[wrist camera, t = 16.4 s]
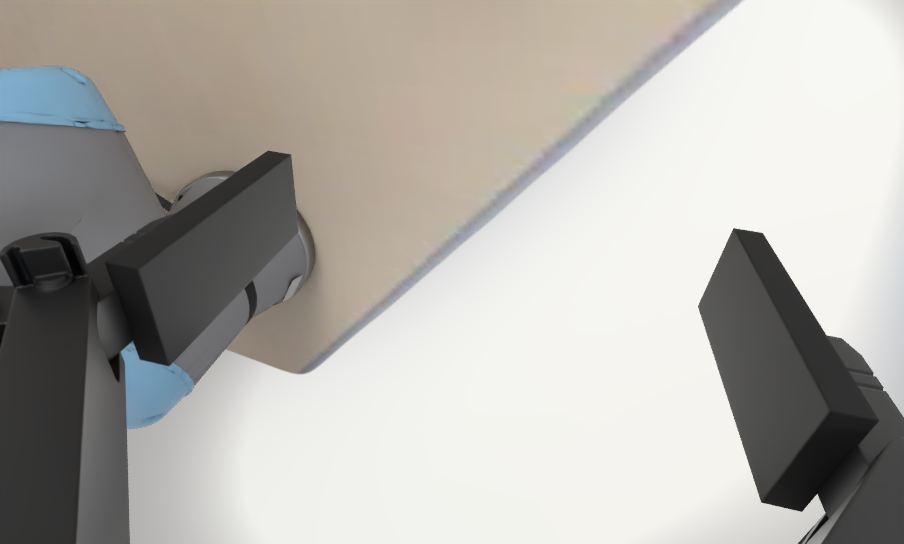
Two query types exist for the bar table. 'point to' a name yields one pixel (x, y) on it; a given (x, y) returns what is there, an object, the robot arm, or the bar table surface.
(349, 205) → the bar table surface
